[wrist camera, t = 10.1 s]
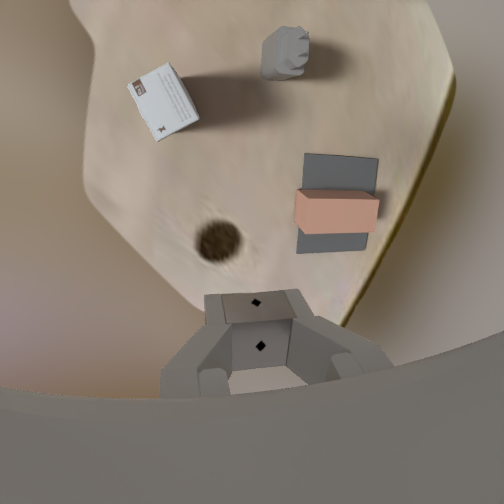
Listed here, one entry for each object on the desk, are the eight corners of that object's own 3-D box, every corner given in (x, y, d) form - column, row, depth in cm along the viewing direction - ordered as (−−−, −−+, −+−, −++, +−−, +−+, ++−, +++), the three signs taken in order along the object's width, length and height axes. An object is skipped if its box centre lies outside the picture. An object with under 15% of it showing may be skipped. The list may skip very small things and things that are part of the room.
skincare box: (201, 118, 36) (205, 120, 25) (168, 135, 36) (157, 145, 25) (179, 75, 33) (173, 58, 22) (145, 93, 33) (125, 85, 22)
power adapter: (260, 79, 35) (288, 67, 24) (262, 39, 32) (291, 12, 22) (285, 81, 35) (322, 71, 25) (287, 41, 33) (324, 18, 22)
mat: (304, 153, 40) (305, 154, 39) (376, 158, 42) (377, 159, 41) (296, 252, 46) (297, 253, 45) (363, 249, 47) (364, 250, 47)
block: (308, 198, 37) (379, 199, 39) (296, 189, 41) (363, 190, 43) (305, 234, 39) (374, 232, 41) (294, 221, 43) (359, 220, 45)
